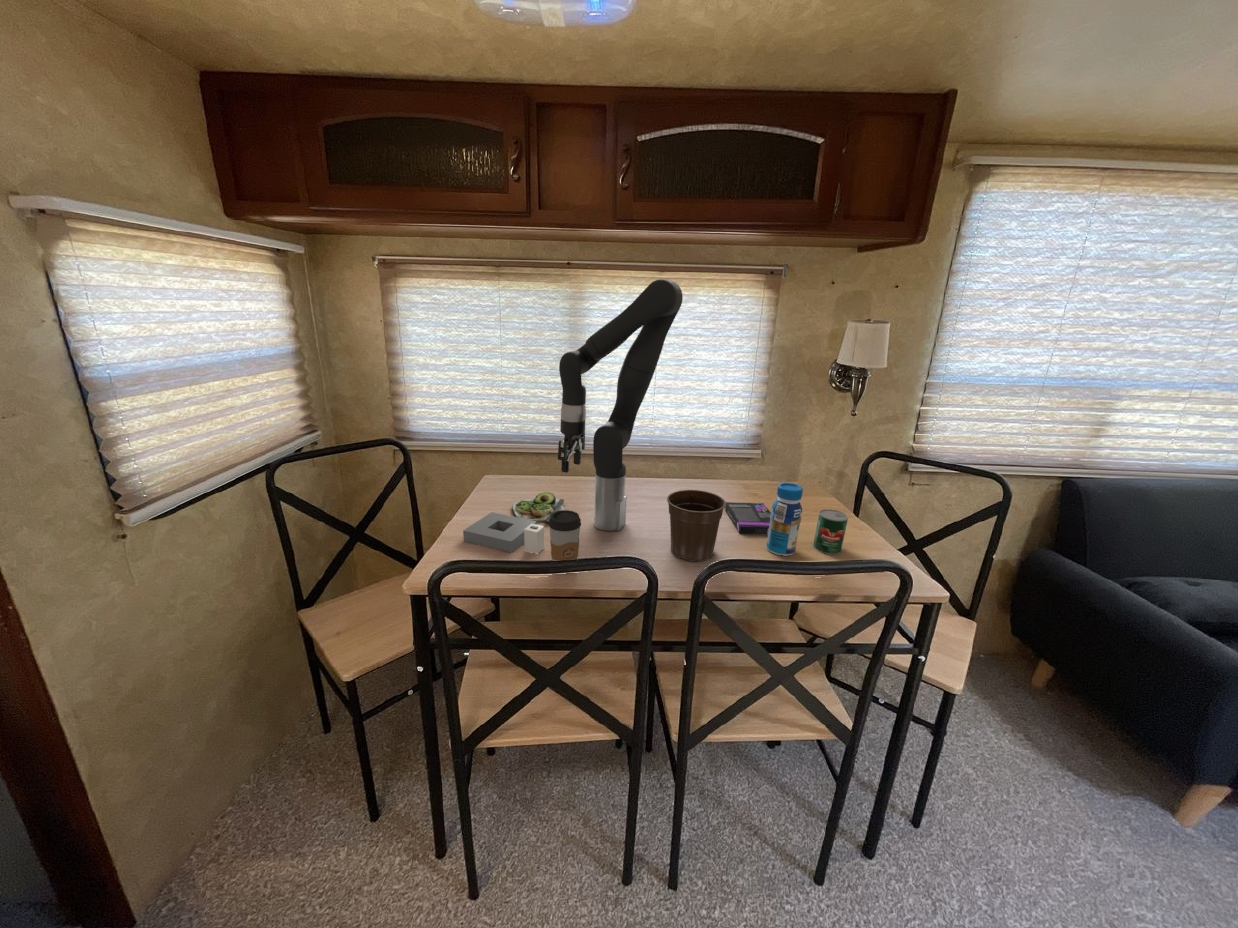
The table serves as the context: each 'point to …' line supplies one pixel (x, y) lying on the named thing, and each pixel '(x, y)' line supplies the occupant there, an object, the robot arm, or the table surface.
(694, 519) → the plant pot
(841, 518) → the canned tomato
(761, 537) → the table surface
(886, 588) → the table surface
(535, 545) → the block
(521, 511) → the avocado toast plate
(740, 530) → the box
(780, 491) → the beverage bottle
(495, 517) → the outlet box
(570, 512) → the coffee cup
